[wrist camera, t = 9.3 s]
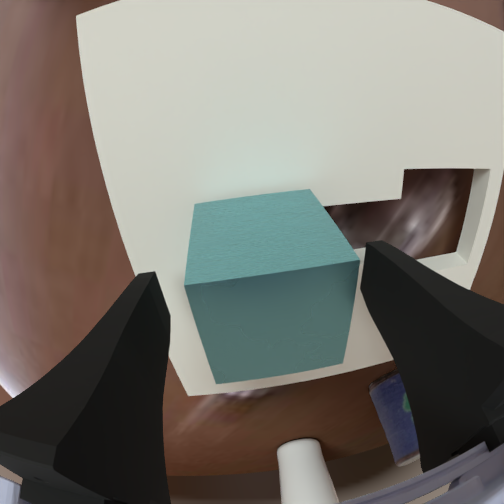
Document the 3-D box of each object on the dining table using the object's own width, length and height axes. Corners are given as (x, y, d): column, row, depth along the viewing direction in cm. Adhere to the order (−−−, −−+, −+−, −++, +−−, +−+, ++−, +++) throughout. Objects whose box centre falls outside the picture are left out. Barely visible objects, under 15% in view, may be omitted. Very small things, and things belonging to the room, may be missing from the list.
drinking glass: (275, 437, 29) (296, 556, 17) (331, 430, 30) (360, 541, 18) (266, 456, 33) (282, 556, 20) (315, 450, 34) (338, 545, 21)
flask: (367, 393, 26) (401, 486, 17) (366, 380, 25) (404, 481, 16) (446, 356, 25) (490, 437, 16) (450, 340, 24) (501, 427, 15)
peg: (291, 156, 13) (369, 251, 7) (295, 239, 16) (347, 365, 9) (194, 168, 13) (172, 279, 6) (210, 251, 16) (211, 388, 9)
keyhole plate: (468, 32, 10) (509, 34, 7) (426, 313, 21) (445, 342, 18) (106, 26, 9) (75, 16, 6) (189, 356, 20) (188, 395, 17)
